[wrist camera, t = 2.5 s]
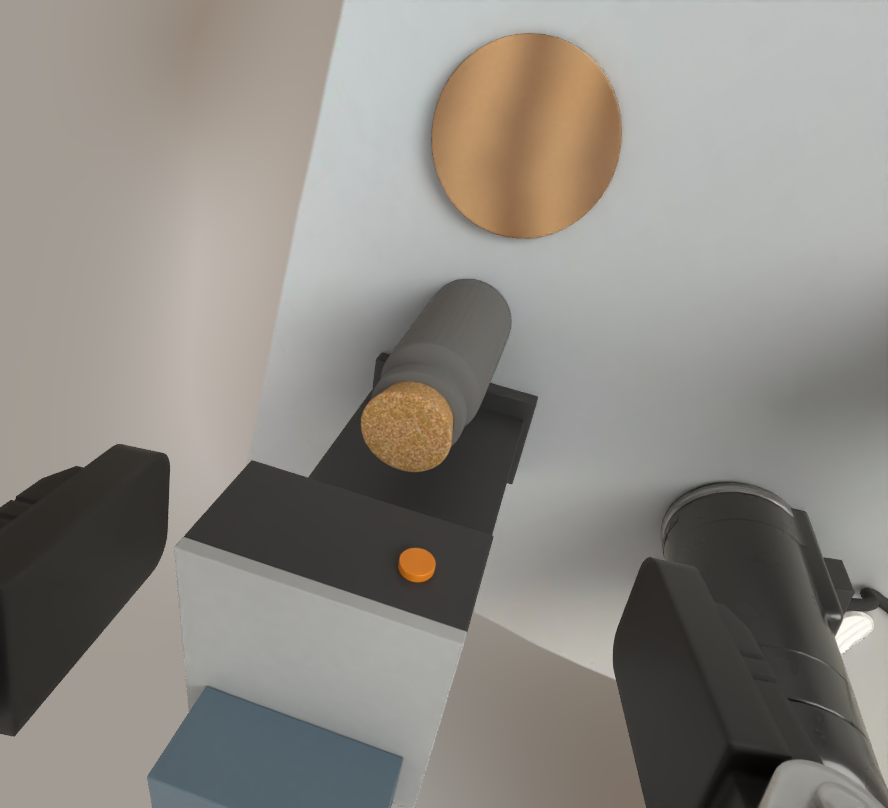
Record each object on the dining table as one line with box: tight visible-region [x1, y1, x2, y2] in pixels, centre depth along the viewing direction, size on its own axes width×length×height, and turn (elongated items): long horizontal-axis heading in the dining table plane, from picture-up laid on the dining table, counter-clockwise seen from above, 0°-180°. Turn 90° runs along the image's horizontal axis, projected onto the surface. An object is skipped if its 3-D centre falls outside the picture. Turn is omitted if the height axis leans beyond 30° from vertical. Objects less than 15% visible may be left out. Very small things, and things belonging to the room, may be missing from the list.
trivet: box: [431, 33, 622, 238], centre depth 37 cm, size 11×11×1 cm
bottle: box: [361, 279, 511, 472], centre depth 37 cm, size 6×6×15 cm
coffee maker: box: [147, 353, 538, 808], centre depth 34 cm, size 12×12×30 cm
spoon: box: [835, 611, 874, 654], centre depth 52 cm, size 5×18×1 cm, turn 163°
